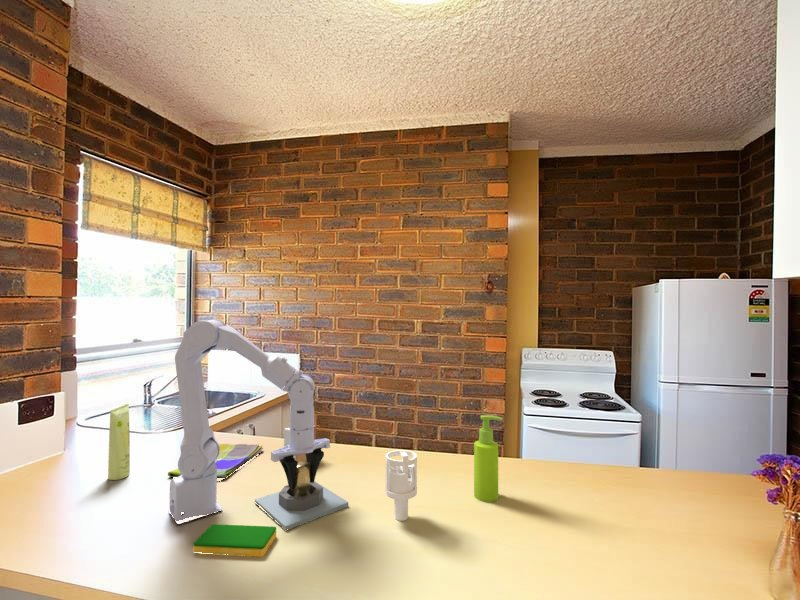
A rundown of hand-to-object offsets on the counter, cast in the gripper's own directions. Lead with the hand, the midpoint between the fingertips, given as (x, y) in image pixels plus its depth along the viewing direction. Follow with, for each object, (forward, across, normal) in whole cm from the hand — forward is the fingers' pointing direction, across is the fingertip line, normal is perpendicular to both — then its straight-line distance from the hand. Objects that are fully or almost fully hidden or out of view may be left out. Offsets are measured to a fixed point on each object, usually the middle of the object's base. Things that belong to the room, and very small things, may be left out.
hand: (301, 484), depth 97 cm
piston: (+3, 0, 0) cm, 3 cm away
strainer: (+5, +14, -20) cm, 25 cm away
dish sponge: (+6, -18, -6) cm, 19 cm away
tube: (+5, -30, +48) cm, 57 cm away
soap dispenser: (+5, +37, -27) cm, 46 cm away
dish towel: (+6, -6, +40) cm, 41 cm away
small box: (+5, +13, +25) cm, 29 cm away
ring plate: (+5, 0, 0) cm, 5 cm away
